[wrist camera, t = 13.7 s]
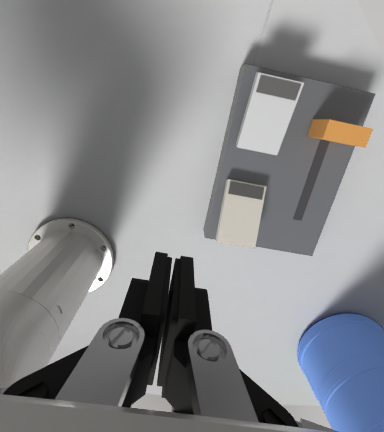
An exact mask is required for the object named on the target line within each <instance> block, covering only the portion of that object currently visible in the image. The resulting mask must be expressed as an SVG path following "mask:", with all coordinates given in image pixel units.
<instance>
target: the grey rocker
mask: <svg viewBox="0 0 384 432" xmlns="http://www.w3.org/2000/svg"><path fill="white" fill-rule="evenodd" d="M303 85H304V83H303V82H299V81H295V80H290V79H286V78H281V77H277V76H273V75H268V74H264V73H260V72H256V75H255V78H254V82H253V85H252V89H251V92H250V96H249V99H248V103H247V106H246V110H245V113H244V117H243V120H242V124H241V127H240V131H239V134H238V138H237V141H236V147H237V148H242V149H247V150H252V151H257V152H262V153H267V154H272V155H277V154H278V152H279V149H280V146H281V144H282V141H283V138H284V136H285V133H286V130H287V128H288V125H289V122H290V120H291V117H292V114H293V112H294V109H295V106H296V104H297V101H298V98H299V96H300V93H301V90H302V88H303Z"/></svg>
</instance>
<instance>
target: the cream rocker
mask: <svg viewBox="0 0 384 432" xmlns="http://www.w3.org/2000/svg"><path fill="white" fill-rule="evenodd" d="M266 187H267V186H262V185H257V184H251V183H246V182H241V181H236V180H231V179H227V180H226V185H225V190H224V196H223V201H222V207H221V212H220V218H219V223H218V229H217V234H216V240H215V241H217V242H221V243H227V244H233V245H239V246H245V247H251V248H255V246H256V241H257V236H258V230H259V225H260V219H261V214H262V208H263V203H264V197H265V192H266Z"/></svg>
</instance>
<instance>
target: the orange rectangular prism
mask: <svg viewBox="0 0 384 432" xmlns="http://www.w3.org/2000/svg"><path fill="white" fill-rule="evenodd" d="M372 130H373V129H371V128H367V127H362V126H358V125H353V124H348V123H344V122H339V121H335V120H330V119H313V120H312V123H311V126H310V129H309V132H308V137H313V138H317V139H322V140H327V141H331V142H336V143H341V144H346V145H352V146H359V147H366V145H367V142H368V140H369V137H370V135H371V132H372Z"/></svg>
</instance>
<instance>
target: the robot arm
mask: <svg viewBox="0 0 384 432" xmlns="http://www.w3.org/2000/svg"><path fill="white" fill-rule="evenodd" d="M73 224H74V225H73ZM104 246H105V247H104ZM167 256H168V254H167V253H160V252H156V253H155V257H154V262H153V266H152V270H151V275H150V279H149V280H142V279H136V278H132V280H131V283H130V286H129V289H128V292H127V295H126V298H125V301H124V304H123V306H122V309H121V312H120V315H119V318H117V319H113V320H110V321H108V322H106V323H105V324H103V326H102V327H101V328H100V329H99V330H98V332H97V334H96V335H95V337H94V338H93V340H92V341H91V343H90V345H89V346H87V347H84V348H82V349H80V350H78V351H76V352H74V353H72V354H70V355H68V356H66V357H64V358H62V359H60V360H58V361H56V362H54V363H52V364H50V365H48V366H47V364H48V362H49V360H50V359H51V357H52V355H53V353H54V352H55V350H56V348H57V346H58V344H59V343H60V341H61V339H62V337H63V336H64V334H65V332H66V330H67V329H68V327H69V325H70V323H71V321H72V320H73V318H74V316H75V314H76V313H77V311H78V309H79V307H80V306H81V304H82V302H83V300H84V299H85V297H86V295H87V293H88V292H90V291H93V290H95V289H97V288H99V287H100V286H101V285H102V284H103V283H104V282H105V281H106V280H107V279H108V277H109V275H110V273H111V271H112V268H113V262H114V257H113V251H112V248H111V245H110V243H109V242H108V240H107V238H106V237H105V236H104V235H103V234H102V233H101V232H100V231H99V230H98V229H97V228H96V227H94V226H92V225H91V224H89V223H87V222H84V221H81V220H77V219H73V218H61V219H55V220H52V221H49V222H47V223H46V224H44V225H42V226H41V227H40V228H39V229H37V230H36V231H35V232H34V234H33V235H32V237H31V239H30V241H29V244H28V252H27V253H26V254H25V255H24V256H22V257H21V258H20V259H19V260H18V261H16V262H15V263H14V264H13V265H12V266H10V267H9V268H8V269H7V270H6V271H4V272H3V273H2V274H1V275H0V432H338V431H335V430H332V429H330V428H327V427H324V426H321V425H318V424H315V423H313V422H310V421H307V420H304V419H300V421H299V422H297V421H295V420H294V418H293V417H292V416H291V414H290V413H288V411H287V410H286V409H285V408H284V407H282V406H281V405H280V404H279V403H278V402H277V401H276V400H274V399H273V398H272V397H271V396H270V395H269V394H268V393H266V392H265V391H264V390H263V389H262V388H261V387H260V386H258V385H257V384H256V383H255V382H254V381H253V380H251V379H250V378H249V377H248V376H247V375H246V374H245V373H243V372H242V371H241V370H240V369H239V367H238V365H237V362H236V359H235V357H234V354H233V351H232V348H231V346H230V344H229V342H228V341H227V340H226V339H225V338H224V337H223V336H222V335H220V334H219V333H217V332H214V331H212V325H211V317H210V309H209V301H208V293H207V290H206V289H200V288H195V285H194V265H193V258H191V257H185V256H181V257H180V259H177V258H176V259H175V264H174V269H173V274H172V279H171V284H170V289H169V283H170V273H171V263H172V258H171V257H167ZM168 293H169V294H168ZM161 340H162V344H161ZM160 345H161V353H160V362H159V371H158V380H157V386H162V398H166V399H167V401H168V402H169V403H170V404H171V405H172V410H171V412H163V411H154V410H146V409H137V408H132V405H133V403H134V402H136V401H137V400H138V399H140V398H141V397H142V396H144V395H145V392H146V387H147V385H152V384H153V379H154V374H155V369H156V364H157V359H158V354H159V350H160Z"/></svg>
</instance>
